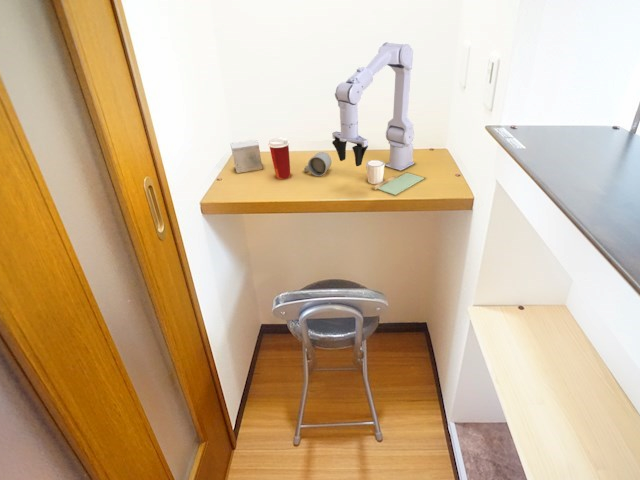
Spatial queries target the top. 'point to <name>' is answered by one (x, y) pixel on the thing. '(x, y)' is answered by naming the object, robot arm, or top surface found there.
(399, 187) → the mat
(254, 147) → the grey concrete block
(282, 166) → the paper cup
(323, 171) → the ceramic mug
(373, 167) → the beige short cylinder
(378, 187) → the stop batten
